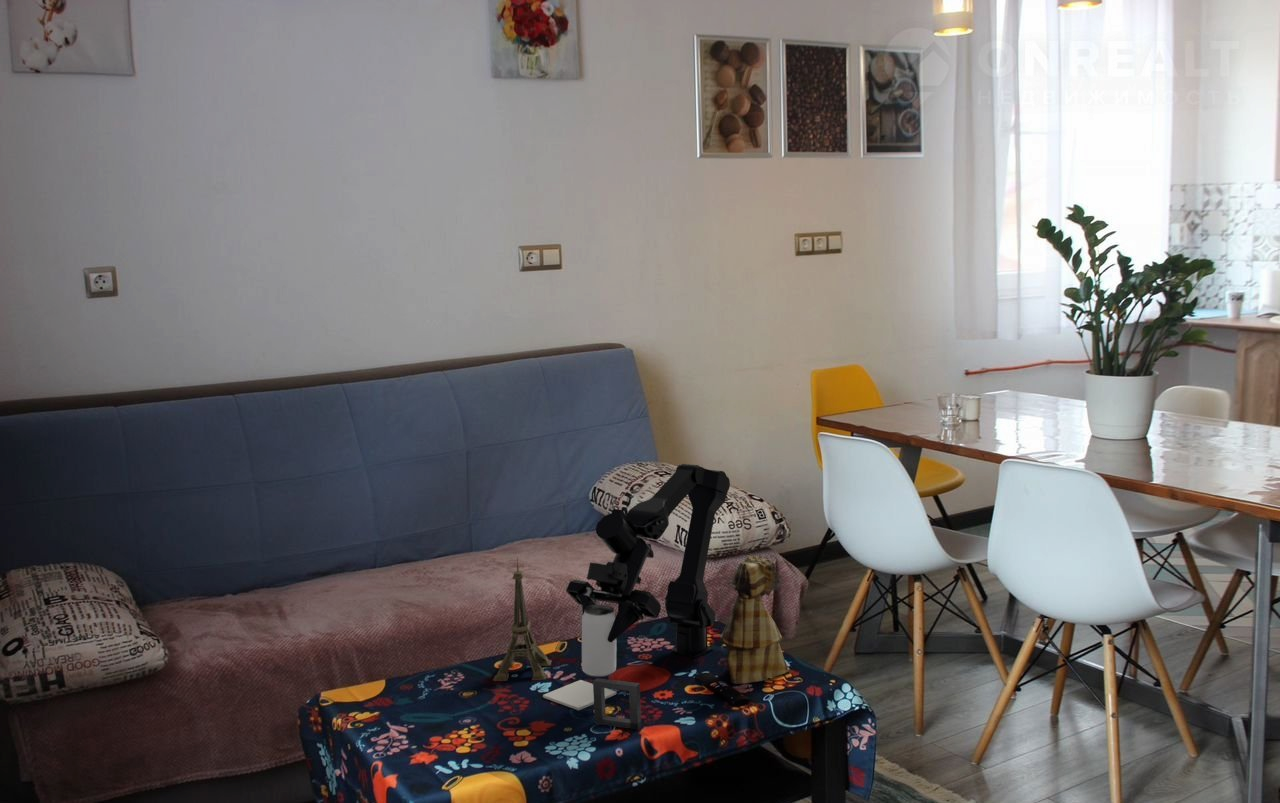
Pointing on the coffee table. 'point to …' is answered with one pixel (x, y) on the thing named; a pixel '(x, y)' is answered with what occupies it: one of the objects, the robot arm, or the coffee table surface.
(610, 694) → the pad
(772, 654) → the plush toy
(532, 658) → the eiffel tower
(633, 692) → the dark grey square frame
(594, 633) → the can
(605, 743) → the coffee table surface
